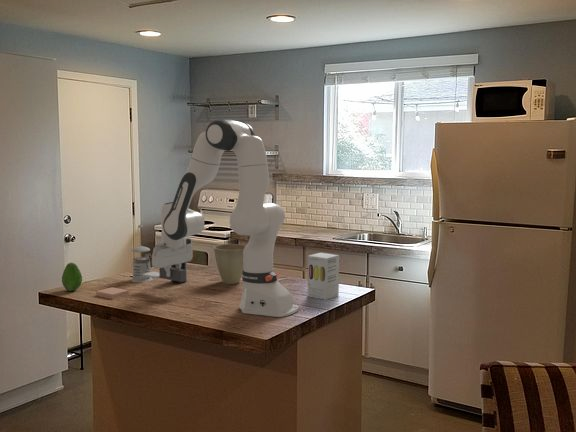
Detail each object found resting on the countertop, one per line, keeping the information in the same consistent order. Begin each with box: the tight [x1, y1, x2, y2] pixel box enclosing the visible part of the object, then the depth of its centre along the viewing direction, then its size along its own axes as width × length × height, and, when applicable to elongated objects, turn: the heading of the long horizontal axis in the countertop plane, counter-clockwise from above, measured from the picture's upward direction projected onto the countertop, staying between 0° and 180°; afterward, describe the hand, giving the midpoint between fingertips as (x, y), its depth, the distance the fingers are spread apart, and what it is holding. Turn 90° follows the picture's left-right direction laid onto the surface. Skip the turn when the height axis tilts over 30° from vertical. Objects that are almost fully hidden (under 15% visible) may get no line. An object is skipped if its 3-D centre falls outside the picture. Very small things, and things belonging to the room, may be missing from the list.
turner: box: [143, 266, 187, 282], centre depth 242 cm, size 20×6×4 cm, turn 57°
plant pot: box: [213, 243, 247, 285], centre depth 262 cm, size 15×15×16 cm
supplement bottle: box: [170, 262, 188, 284], centre depth 262 cm, size 7×7×12 cm
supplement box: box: [307, 252, 340, 301], centre depth 238 cm, size 10×9×17 cm
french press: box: [130, 224, 154, 283], centre depth 265 cm, size 10×12×25 cm
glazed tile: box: [95, 287, 130, 300], centre depth 240 cm, size 2×8×10 cm
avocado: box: [61, 262, 83, 292], centre depth 246 cm, size 8×8×12 cm
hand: (173, 275), depth 240 cm, fingers closed on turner, 3 cm apart
